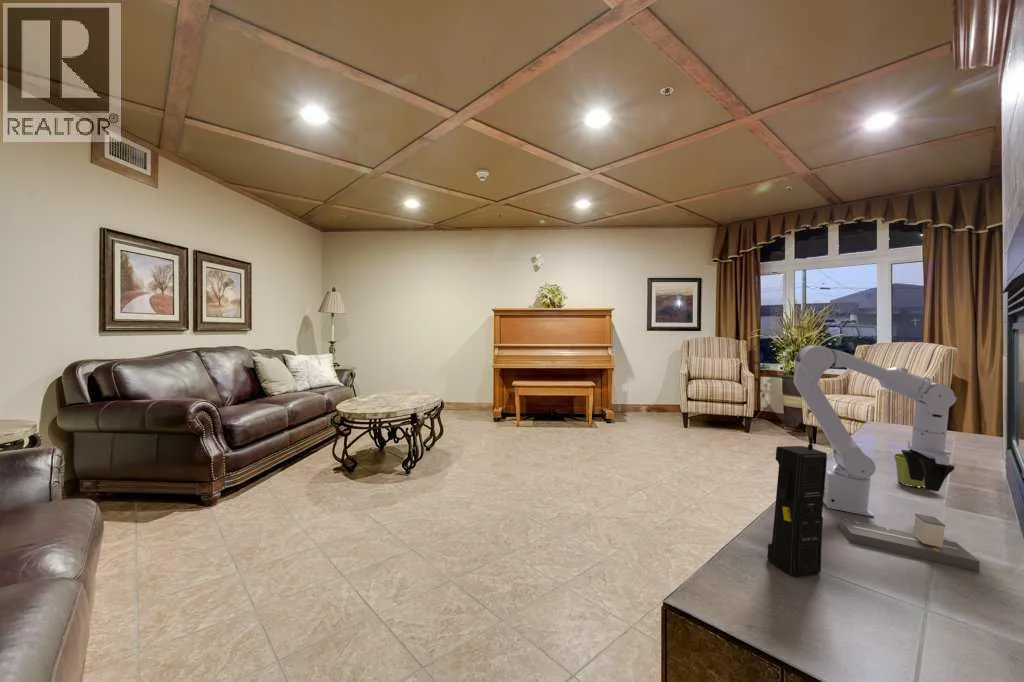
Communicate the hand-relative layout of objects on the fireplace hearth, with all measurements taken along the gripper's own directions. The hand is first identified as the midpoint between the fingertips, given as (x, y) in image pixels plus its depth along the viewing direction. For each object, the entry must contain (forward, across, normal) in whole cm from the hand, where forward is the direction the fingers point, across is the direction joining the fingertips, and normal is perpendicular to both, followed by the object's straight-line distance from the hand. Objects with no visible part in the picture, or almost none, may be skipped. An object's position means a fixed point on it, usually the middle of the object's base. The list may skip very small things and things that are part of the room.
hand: (923, 484), depth 98 cm
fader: (+7, -19, +6) cm, 21 cm away
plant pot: (+10, +35, -11) cm, 38 cm away
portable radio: (+10, -42, +34) cm, 55 cm away
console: (+9, -19, +10) cm, 23 cm away
